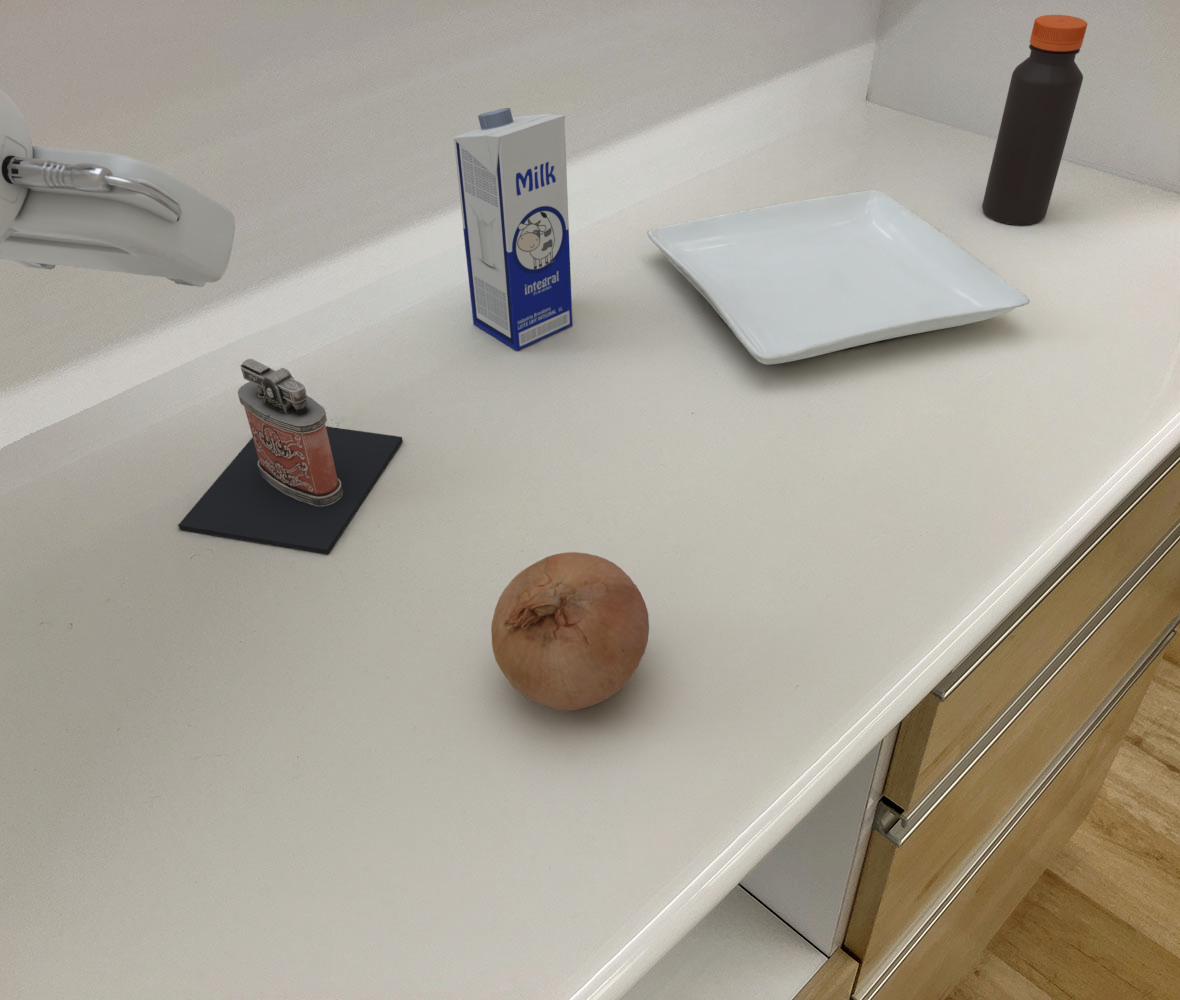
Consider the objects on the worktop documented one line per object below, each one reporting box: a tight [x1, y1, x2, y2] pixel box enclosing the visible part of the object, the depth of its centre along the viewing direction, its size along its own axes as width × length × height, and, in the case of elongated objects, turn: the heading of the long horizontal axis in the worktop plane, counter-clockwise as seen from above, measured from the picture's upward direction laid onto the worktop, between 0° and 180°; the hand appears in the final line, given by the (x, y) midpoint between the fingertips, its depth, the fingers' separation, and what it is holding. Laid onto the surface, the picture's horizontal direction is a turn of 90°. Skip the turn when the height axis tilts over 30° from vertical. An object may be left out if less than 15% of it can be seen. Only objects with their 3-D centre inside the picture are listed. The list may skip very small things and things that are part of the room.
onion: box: [490, 551, 650, 711], centre depth 63 cm, size 10×9×10 cm
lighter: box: [237, 358, 343, 506], centre depth 77 cm, size 8×3×10 cm, turn 53°
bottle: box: [981, 14, 1088, 226], centre depth 109 cm, size 7×7×20 cm
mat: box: [177, 425, 404, 555], centre depth 81 cm, size 12×14×1 cm
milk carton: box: [452, 107, 573, 352], centre depth 93 cm, size 7×7×20 cm
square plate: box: [646, 189, 1030, 365], centre depth 101 cm, size 27×27×4 cm
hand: (120, 263), depth 58 cm, fingers open, 8 cm apart
